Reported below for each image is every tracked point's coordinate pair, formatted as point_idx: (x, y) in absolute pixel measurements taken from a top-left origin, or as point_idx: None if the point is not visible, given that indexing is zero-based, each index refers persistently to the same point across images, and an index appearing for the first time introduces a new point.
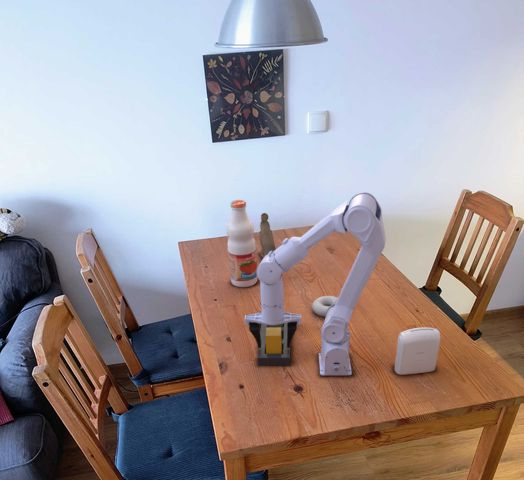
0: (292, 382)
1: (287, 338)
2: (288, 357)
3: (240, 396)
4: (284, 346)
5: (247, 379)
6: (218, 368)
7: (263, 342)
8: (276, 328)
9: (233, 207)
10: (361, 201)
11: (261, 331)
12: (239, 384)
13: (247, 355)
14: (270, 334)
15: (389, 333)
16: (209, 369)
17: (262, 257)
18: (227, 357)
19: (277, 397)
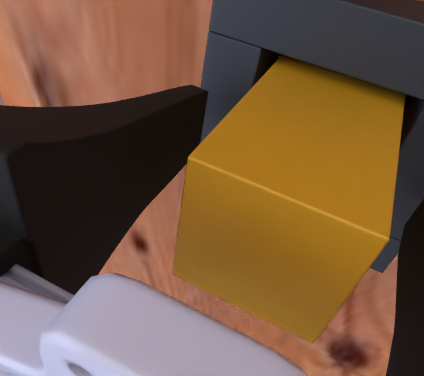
0: (340, 321)
1: (411, 293)
2: (375, 268)
3: (139, 277)
4: (413, 150)
5: (159, 221)
6: (38, 105)
7: (246, 21)
8: (311, 231)
9: None
10: None
11: None
12: (132, 230)
13: (156, 40)
14: (217, 281)
15: None
16: (7, 98)
17: None
18: (53, 24)
19: (255, 339)
